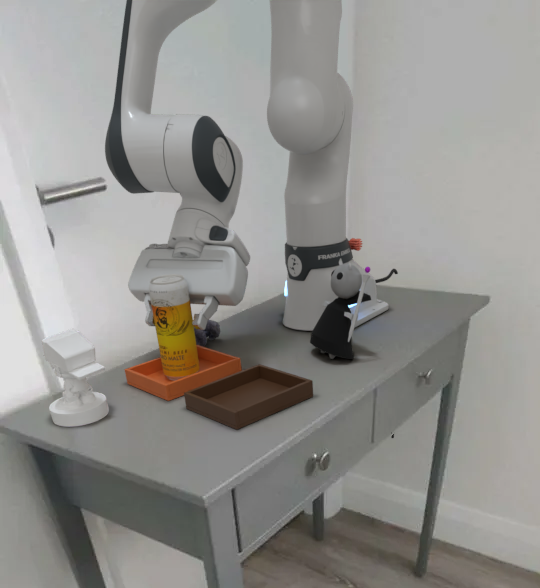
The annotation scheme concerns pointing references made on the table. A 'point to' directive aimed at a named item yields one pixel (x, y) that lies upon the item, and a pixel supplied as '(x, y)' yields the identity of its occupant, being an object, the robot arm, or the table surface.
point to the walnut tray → (248, 395)
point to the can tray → (159, 385)
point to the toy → (341, 312)
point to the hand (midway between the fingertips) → (174, 326)
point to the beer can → (174, 325)
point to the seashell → (207, 333)
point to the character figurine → (74, 379)
